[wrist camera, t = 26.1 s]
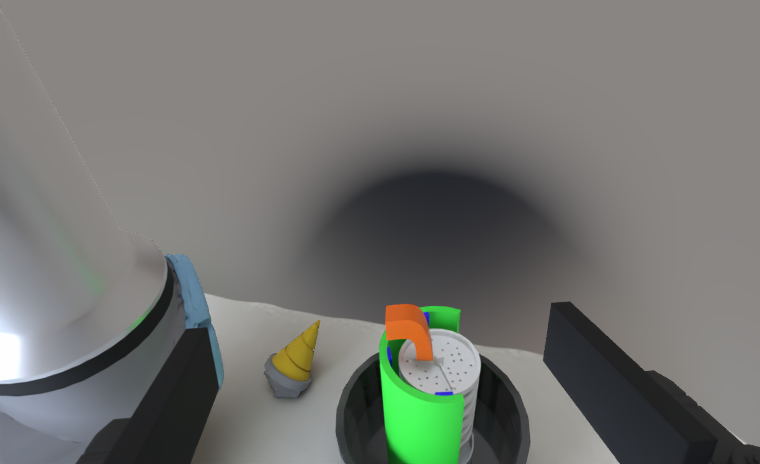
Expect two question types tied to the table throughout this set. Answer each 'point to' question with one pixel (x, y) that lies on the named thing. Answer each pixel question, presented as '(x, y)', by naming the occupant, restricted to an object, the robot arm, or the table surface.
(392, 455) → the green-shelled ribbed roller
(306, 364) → the spiral yellow cone
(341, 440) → the pot
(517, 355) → the table surface
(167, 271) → the robot arm
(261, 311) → the table surface
